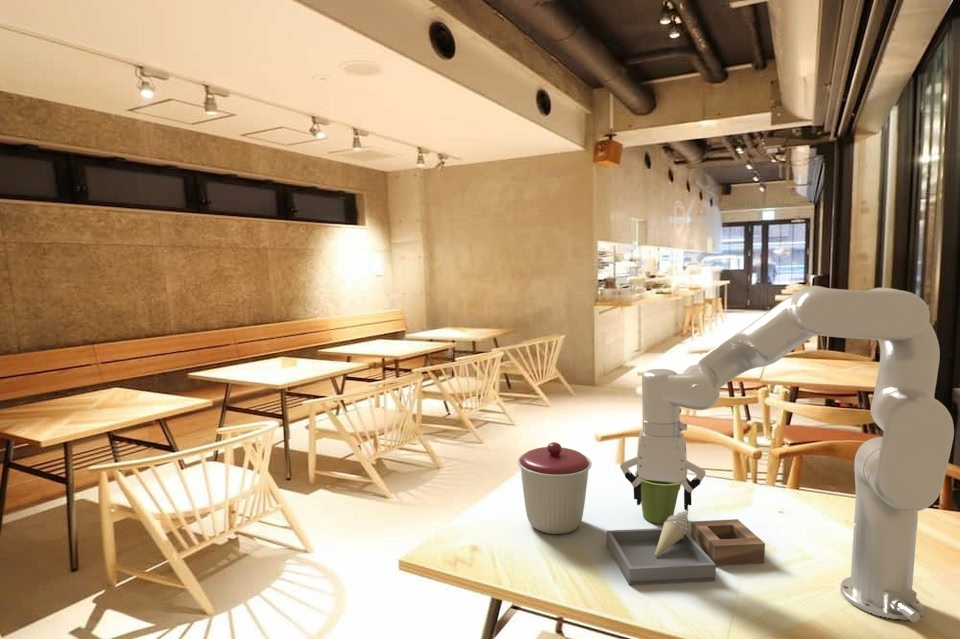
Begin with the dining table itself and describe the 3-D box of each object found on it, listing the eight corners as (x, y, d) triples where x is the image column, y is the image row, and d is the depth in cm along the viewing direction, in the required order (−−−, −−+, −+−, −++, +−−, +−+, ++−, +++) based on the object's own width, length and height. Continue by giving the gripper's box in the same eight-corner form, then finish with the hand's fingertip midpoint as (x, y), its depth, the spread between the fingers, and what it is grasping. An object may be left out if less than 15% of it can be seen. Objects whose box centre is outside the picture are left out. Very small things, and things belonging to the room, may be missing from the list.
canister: (598, 542, 129) (599, 455, 127) (521, 543, 129) (520, 456, 127) (583, 507, 147) (583, 431, 145) (515, 508, 147) (515, 432, 145)
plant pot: (686, 531, 134) (687, 486, 133) (635, 527, 136) (636, 483, 135) (679, 509, 146) (680, 468, 144) (632, 506, 148) (633, 465, 147)
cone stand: (764, 563, 120) (764, 543, 119) (713, 565, 119) (714, 545, 118) (736, 537, 131) (737, 519, 130) (690, 539, 130) (691, 521, 129)
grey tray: (715, 580, 113) (715, 564, 113) (629, 585, 112) (629, 569, 112) (682, 541, 129) (682, 527, 129) (606, 545, 128) (606, 530, 128)
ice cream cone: (663, 568, 121) (695, 520, 129) (668, 558, 118) (701, 510, 126) (643, 553, 124) (676, 507, 132) (647, 542, 120) (681, 496, 128)
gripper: (704, 425, 118) (705, 502, 119) (621, 420, 124) (623, 493, 126) (705, 435, 111) (705, 517, 112) (617, 430, 117) (619, 507, 119)
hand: (662, 505), depth 119 cm, fingers open, 9 cm apart
